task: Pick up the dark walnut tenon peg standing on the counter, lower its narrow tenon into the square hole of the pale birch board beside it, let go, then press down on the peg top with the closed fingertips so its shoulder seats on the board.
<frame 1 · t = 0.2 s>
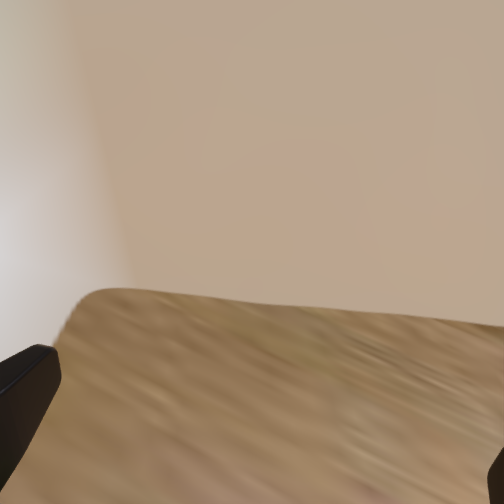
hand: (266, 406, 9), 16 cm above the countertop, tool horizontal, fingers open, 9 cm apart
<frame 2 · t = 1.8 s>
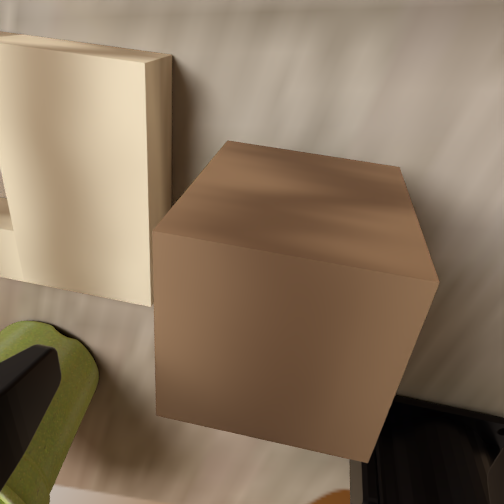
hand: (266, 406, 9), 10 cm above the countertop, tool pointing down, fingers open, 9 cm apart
walnut peg: (303, 201, 17), on the countertop
plant pot: (53, 358, 25), on the countertop
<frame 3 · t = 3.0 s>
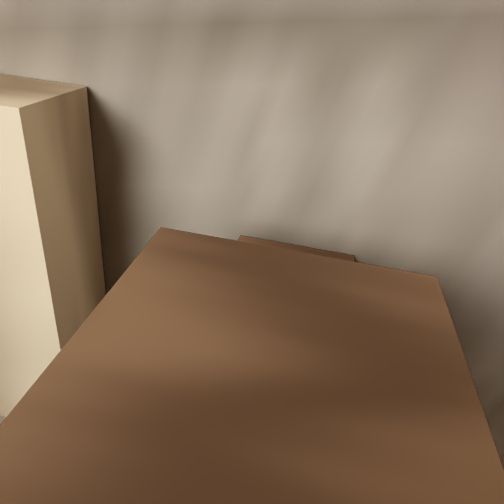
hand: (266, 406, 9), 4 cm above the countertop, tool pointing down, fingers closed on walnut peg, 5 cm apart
walnut peg: (288, 291, 12), on the countertop, touching gripper
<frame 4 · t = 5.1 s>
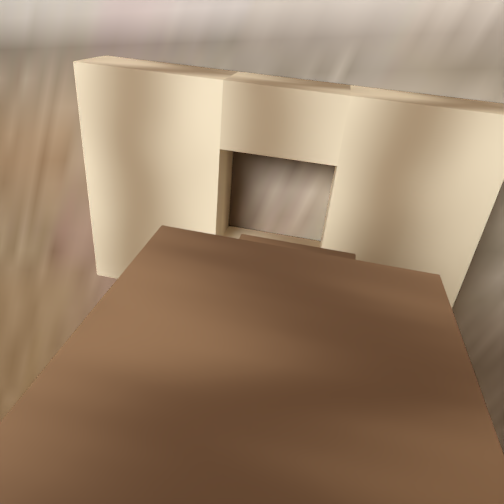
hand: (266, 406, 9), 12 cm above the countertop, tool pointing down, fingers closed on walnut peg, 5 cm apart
walnut peg: (289, 290, 12), point 8 cm above the countertop, touching gripper
birch board: (279, 189, 20), on the countertop
when the fingers open (5 cm above the countertop, at t = 7.7 s): walnut peg stays where it is, resting on birch board.
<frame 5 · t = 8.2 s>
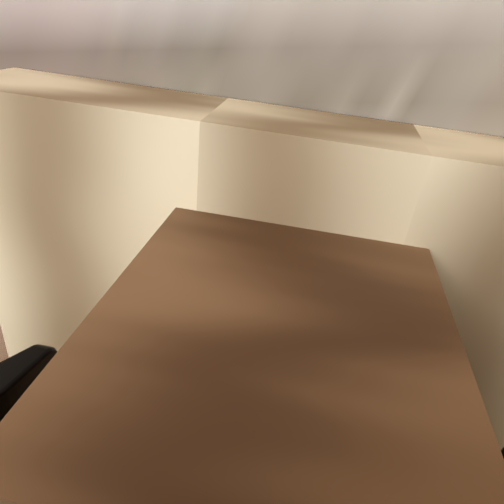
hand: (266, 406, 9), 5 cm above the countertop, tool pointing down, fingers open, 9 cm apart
walnut peg: (292, 272, 13), resting on birch board
birch board: (290, 273, 13), on the countertop
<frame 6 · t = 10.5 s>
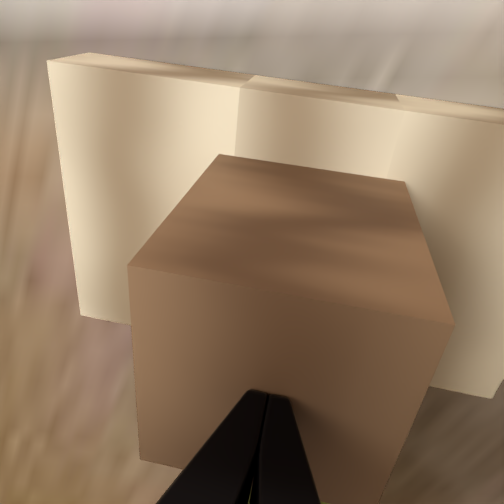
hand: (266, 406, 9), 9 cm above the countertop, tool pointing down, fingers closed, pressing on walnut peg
walnut peg: (302, 215, 16), resting on birch board, touching gripper
birch board: (300, 216, 16), on the countertop
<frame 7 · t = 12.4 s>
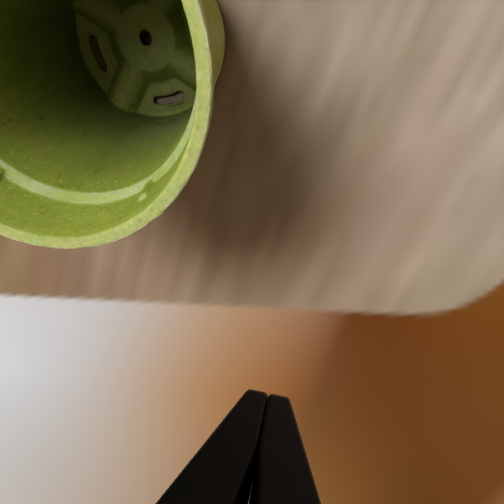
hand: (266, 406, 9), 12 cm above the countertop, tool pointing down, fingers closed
plant pot: (153, 39, 17), on the countertop
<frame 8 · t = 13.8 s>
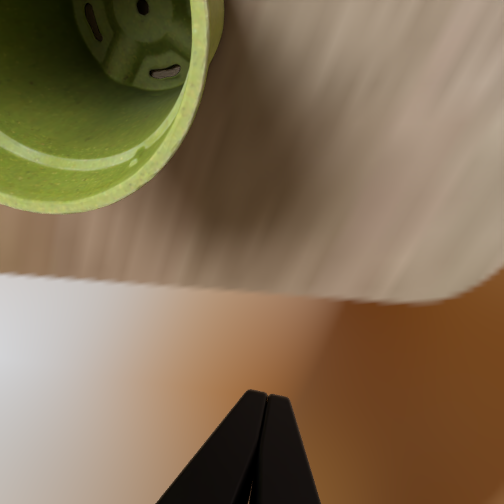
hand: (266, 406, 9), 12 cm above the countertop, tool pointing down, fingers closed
plant pot: (151, 10, 17), on the countertop
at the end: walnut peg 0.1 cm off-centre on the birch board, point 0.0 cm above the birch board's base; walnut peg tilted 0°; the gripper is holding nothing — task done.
